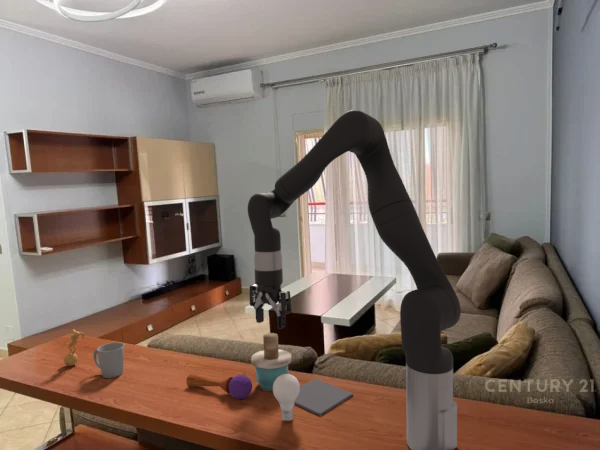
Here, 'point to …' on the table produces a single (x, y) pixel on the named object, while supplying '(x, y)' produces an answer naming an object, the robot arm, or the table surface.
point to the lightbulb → (286, 394)
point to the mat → (320, 396)
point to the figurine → (71, 357)
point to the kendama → (225, 384)
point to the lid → (271, 354)
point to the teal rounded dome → (269, 376)
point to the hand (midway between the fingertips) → (270, 325)
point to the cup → (110, 359)
